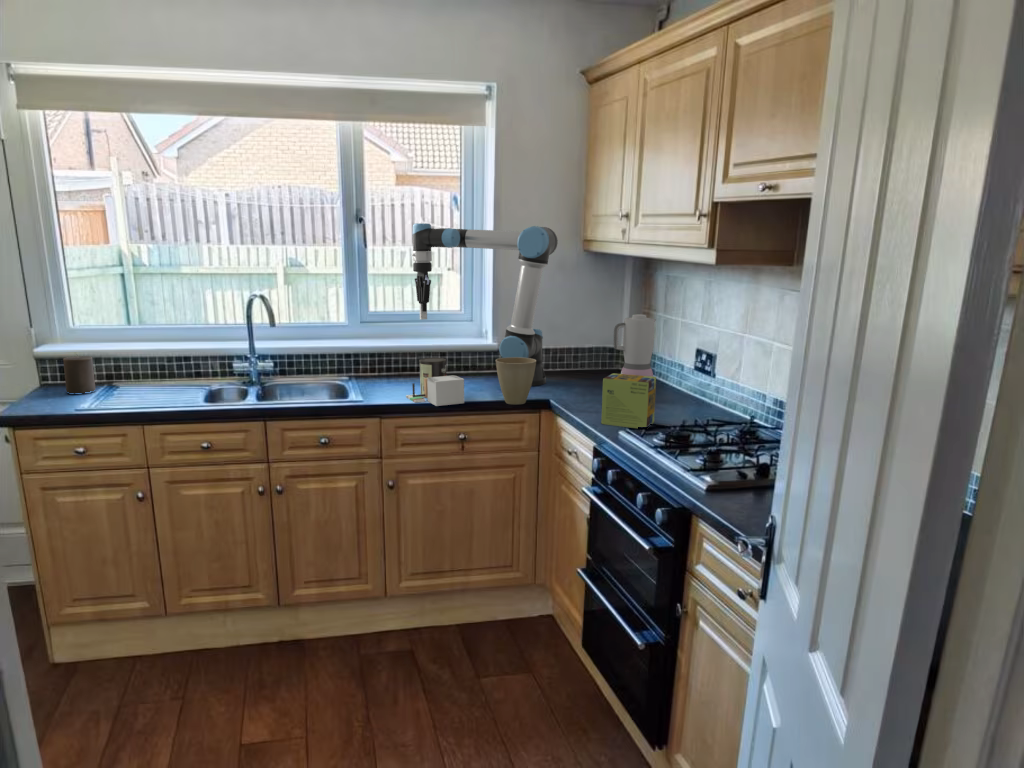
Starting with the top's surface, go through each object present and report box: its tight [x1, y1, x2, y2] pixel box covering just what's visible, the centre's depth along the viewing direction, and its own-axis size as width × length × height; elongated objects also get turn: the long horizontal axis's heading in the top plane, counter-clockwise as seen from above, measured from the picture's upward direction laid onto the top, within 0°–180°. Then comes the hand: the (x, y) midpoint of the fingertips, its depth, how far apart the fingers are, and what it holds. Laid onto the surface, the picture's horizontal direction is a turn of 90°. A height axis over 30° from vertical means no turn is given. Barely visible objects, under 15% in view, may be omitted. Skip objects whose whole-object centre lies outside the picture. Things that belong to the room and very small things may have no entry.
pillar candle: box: [62, 355, 96, 393], centre depth 268 cm, size 10×10×15 cm
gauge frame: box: [405, 374, 465, 407], centre depth 259 cm, size 16×18×9 cm
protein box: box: [600, 372, 657, 429], centre depth 227 cm, size 10×15×16 cm
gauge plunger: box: [412, 378, 428, 399], centre depth 258 cm, size 16×8×7 cm, turn 118°
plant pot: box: [495, 357, 536, 406], centre depth 256 cm, size 15×15×16 cm
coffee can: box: [418, 357, 447, 399], centre depth 267 cm, size 10×10×14 cm
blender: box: [613, 313, 657, 377], centre depth 260 cm, size 16×12×32 cm
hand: (423, 319), depth 290 cm, fingers closed
